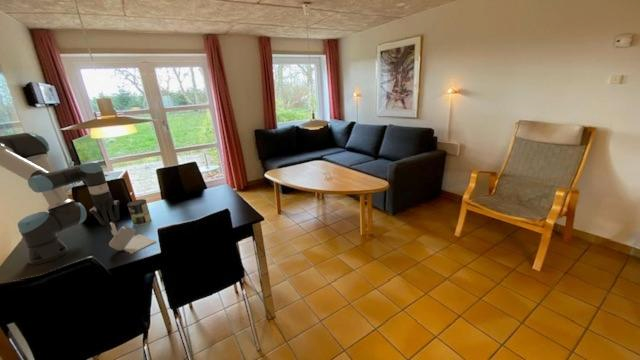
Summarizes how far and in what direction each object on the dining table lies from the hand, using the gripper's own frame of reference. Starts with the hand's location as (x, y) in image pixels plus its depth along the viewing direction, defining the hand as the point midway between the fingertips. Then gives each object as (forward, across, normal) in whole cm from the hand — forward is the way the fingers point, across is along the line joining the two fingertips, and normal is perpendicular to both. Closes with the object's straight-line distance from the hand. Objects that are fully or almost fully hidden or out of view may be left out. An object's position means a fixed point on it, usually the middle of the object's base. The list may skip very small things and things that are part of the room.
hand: (115, 234), depth 140 cm
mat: (+10, +8, +1) cm, 13 cm away
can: (+8, -2, +1) cm, 8 cm away
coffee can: (+10, +24, +27) cm, 38 cm away
